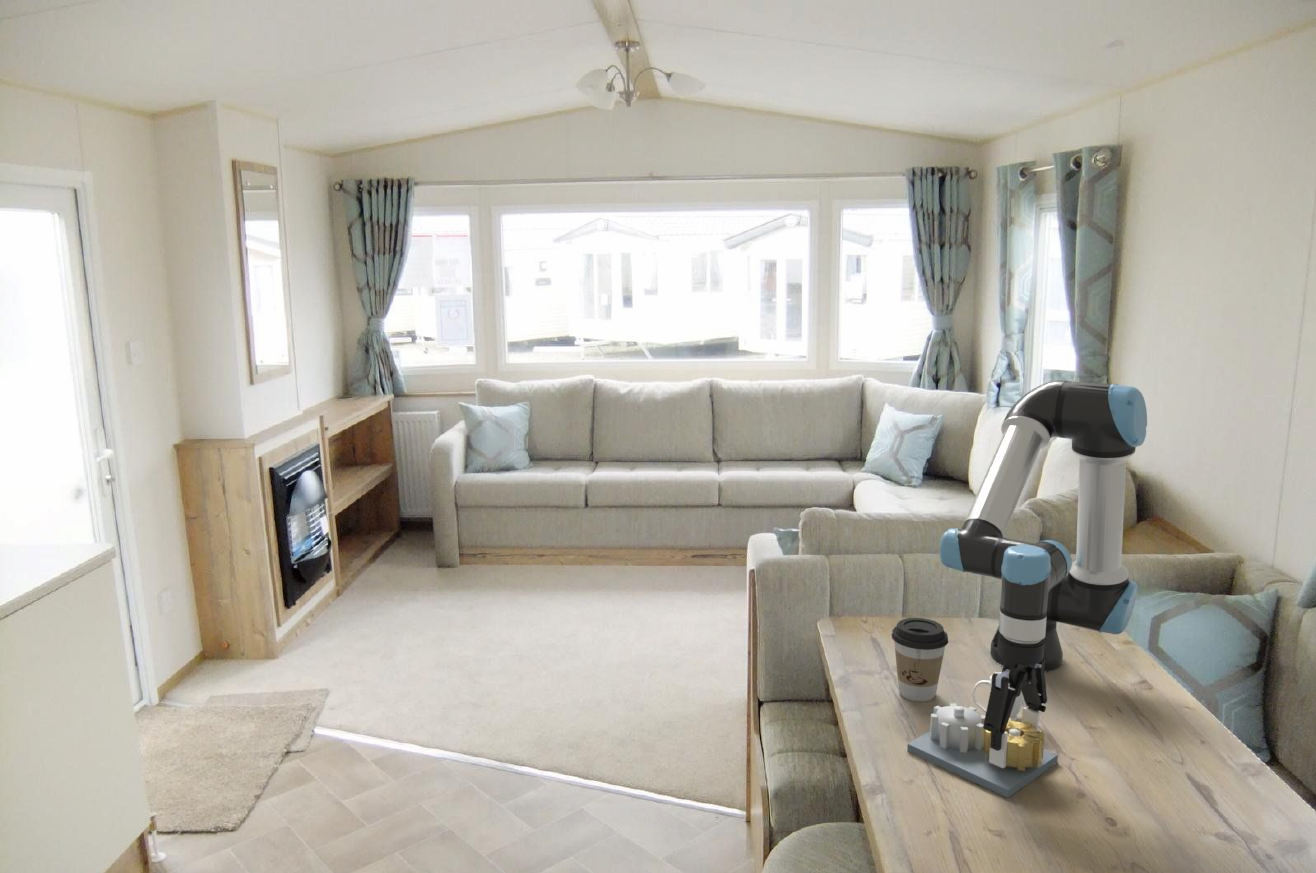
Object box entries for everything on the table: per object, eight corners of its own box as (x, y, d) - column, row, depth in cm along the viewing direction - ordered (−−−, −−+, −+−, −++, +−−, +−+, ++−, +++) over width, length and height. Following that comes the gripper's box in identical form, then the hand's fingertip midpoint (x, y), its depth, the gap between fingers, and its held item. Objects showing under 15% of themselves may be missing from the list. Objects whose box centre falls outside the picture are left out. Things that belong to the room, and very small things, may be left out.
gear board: (958, 720, 183) (960, 685, 182) (1057, 761, 168) (1060, 723, 167) (907, 750, 172) (908, 713, 171) (1007, 797, 157) (1010, 757, 156)
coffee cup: (885, 701, 191) (887, 632, 188) (893, 677, 202) (895, 612, 199) (942, 710, 187) (946, 640, 184) (948, 686, 197) (951, 619, 194)
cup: (1026, 728, 180) (1028, 689, 178) (971, 720, 183) (973, 682, 181) (1024, 711, 187) (1026, 673, 185) (971, 704, 190) (973, 667, 188)
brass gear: (1002, 734, 172) (1003, 712, 171) (1053, 756, 165) (1055, 732, 164) (972, 753, 166) (973, 730, 165) (1024, 776, 158) (1026, 752, 157)
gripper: (1033, 612, 171) (1025, 724, 175) (965, 647, 156) (958, 767, 161) (1074, 624, 165) (1064, 739, 169) (1007, 661, 151) (998, 786, 155)
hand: (1013, 753), depth 165 cm, fingers closed on brass gear, 10 cm apart
